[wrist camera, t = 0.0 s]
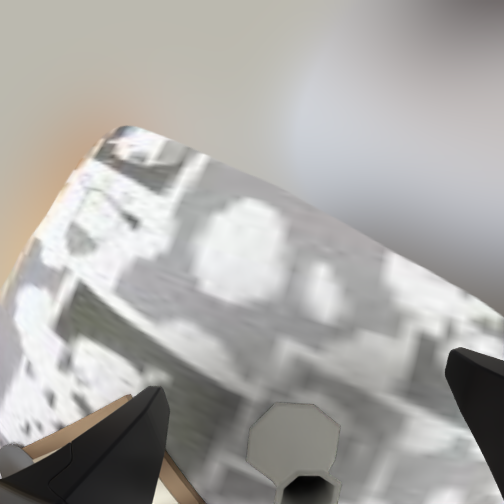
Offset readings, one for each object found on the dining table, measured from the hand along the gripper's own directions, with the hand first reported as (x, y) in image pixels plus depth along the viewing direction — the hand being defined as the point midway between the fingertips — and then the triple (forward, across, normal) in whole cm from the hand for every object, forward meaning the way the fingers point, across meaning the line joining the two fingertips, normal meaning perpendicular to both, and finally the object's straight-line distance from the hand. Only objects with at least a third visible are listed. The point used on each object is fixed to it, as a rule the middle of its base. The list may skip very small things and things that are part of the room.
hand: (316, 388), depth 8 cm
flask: (+9, 0, +13) cm, 16 cm away
